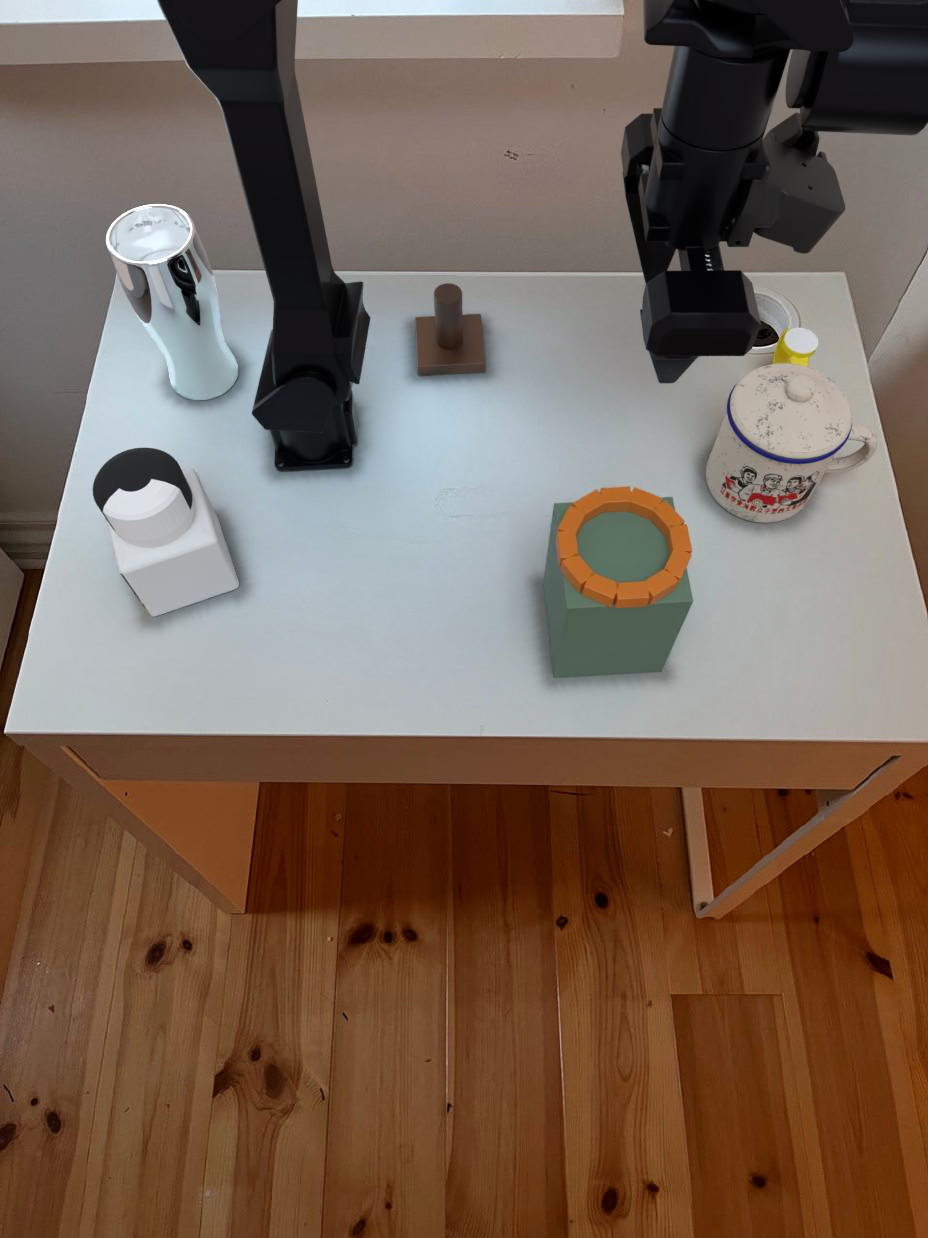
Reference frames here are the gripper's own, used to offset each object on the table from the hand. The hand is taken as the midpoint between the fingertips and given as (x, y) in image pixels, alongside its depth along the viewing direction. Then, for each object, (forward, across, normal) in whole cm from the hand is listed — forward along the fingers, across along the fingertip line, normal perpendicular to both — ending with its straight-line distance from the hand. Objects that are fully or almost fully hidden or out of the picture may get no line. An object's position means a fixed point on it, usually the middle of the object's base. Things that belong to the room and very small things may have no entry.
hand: (659, 330), depth 62 cm
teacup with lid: (+14, -3, -12) cm, 19 cm away
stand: (+14, +12, +15) cm, 24 cm away
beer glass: (+15, +10, +37) cm, 41 cm away
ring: (+3, -16, +4) cm, 17 cm away
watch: (+14, +7, -14) cm, 21 cm away
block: (+14, -16, +3) cm, 22 cm away
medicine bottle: (+15, -10, +36) cm, 40 cm away
